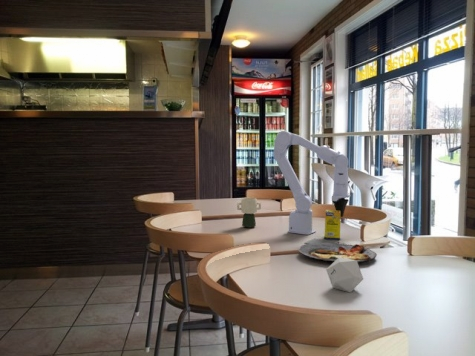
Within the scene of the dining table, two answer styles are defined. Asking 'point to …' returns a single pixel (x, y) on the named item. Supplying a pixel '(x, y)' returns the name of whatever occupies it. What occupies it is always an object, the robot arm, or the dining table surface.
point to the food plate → (337, 252)
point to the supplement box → (332, 224)
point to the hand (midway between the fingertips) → (340, 216)
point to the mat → (320, 241)
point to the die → (344, 274)
